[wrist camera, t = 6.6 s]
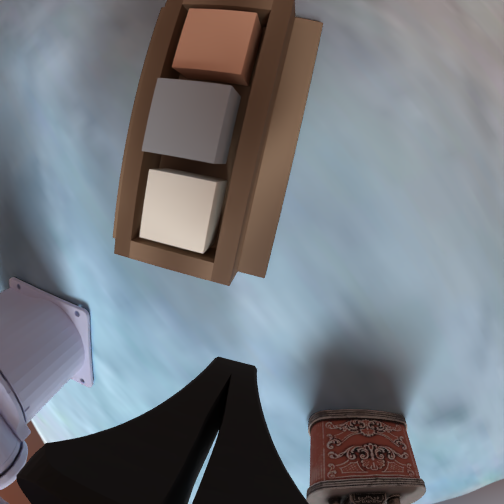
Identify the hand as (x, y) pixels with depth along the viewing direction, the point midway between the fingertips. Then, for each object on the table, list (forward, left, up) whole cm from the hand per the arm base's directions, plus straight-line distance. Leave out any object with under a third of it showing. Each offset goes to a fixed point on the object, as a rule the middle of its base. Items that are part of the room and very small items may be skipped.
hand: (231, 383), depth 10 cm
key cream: (-5, +4, -9) cm, 11 cm away
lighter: (+10, -10, -10) cm, 17 cm away
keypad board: (-5, +8, -10) cm, 14 cm away
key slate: (-5, +8, -8) cm, 12 cm away
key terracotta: (-5, +13, -9) cm, 16 cm away
